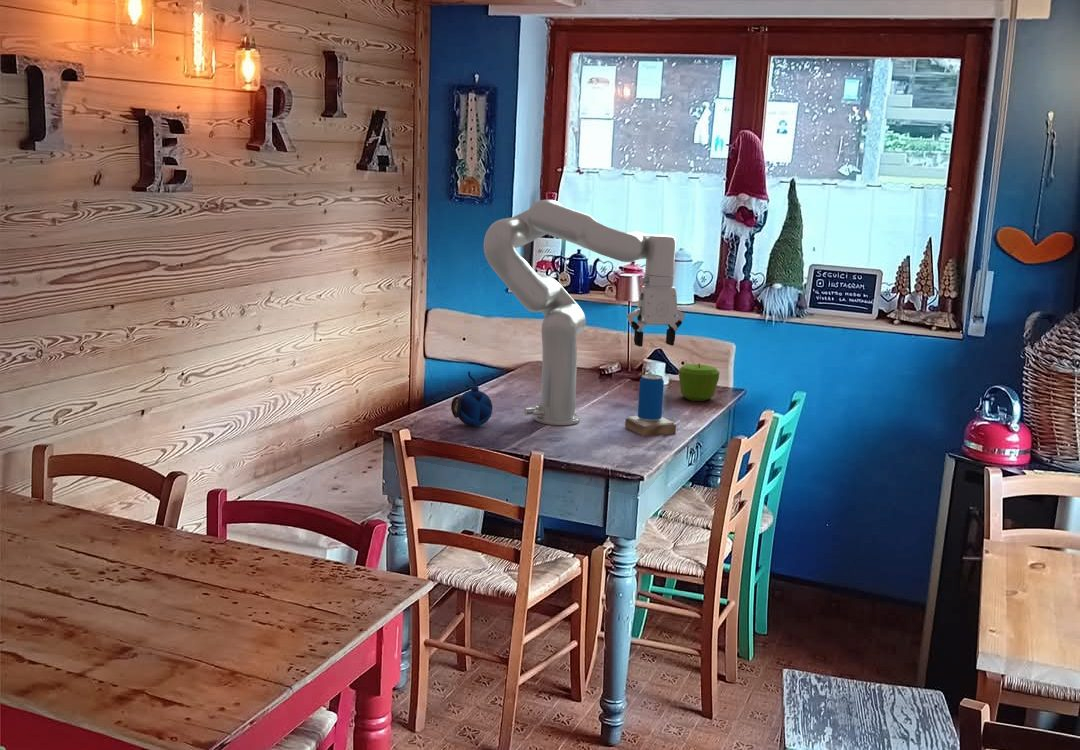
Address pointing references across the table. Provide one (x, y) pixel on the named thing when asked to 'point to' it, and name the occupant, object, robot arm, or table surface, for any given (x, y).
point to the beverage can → (650, 398)
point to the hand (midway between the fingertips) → (654, 345)
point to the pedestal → (650, 426)
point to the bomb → (472, 406)
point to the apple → (698, 381)
